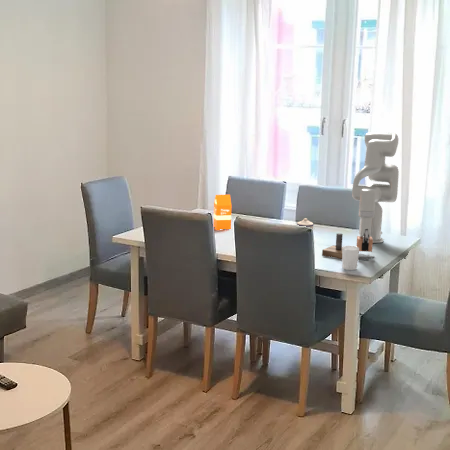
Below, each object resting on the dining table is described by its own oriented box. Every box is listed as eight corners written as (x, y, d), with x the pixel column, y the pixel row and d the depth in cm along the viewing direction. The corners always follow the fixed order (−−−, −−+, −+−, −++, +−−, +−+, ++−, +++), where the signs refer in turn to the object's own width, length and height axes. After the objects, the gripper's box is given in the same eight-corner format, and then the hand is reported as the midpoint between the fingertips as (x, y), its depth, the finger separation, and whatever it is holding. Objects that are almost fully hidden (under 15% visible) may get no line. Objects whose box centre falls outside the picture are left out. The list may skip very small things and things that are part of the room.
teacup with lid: (307, 242, 376) (308, 221, 373) (293, 239, 381) (294, 218, 378) (318, 238, 385) (319, 217, 383) (304, 235, 390) (305, 215, 388)
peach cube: (370, 248, 349) (371, 234, 347) (371, 251, 342) (372, 237, 340) (356, 247, 349) (357, 234, 348) (357, 251, 342) (358, 237, 341)
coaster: (359, 254, 352) (359, 253, 352) (374, 257, 347) (374, 256, 347) (352, 257, 346) (352, 256, 346) (367, 260, 341) (367, 259, 341)
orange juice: (213, 227, 406) (213, 193, 402) (227, 226, 408) (228, 193, 404) (216, 230, 399) (216, 196, 394) (231, 229, 401) (232, 195, 397)
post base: (333, 250, 358) (334, 230, 356) (354, 254, 352) (355, 233, 349) (322, 255, 349) (323, 234, 346) (343, 259, 342) (345, 238, 340)
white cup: (339, 266, 331) (340, 245, 329) (355, 265, 332) (356, 245, 329) (343, 270, 323) (344, 250, 321) (359, 270, 324) (361, 249, 322)
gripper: (357, 210, 350) (355, 244, 354) (360, 216, 333) (358, 252, 337) (372, 210, 350) (370, 244, 353) (376, 217, 333) (373, 253, 337)
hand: (364, 248), depth 345 cm, fingers closed on peach cube, 7 cm apart
